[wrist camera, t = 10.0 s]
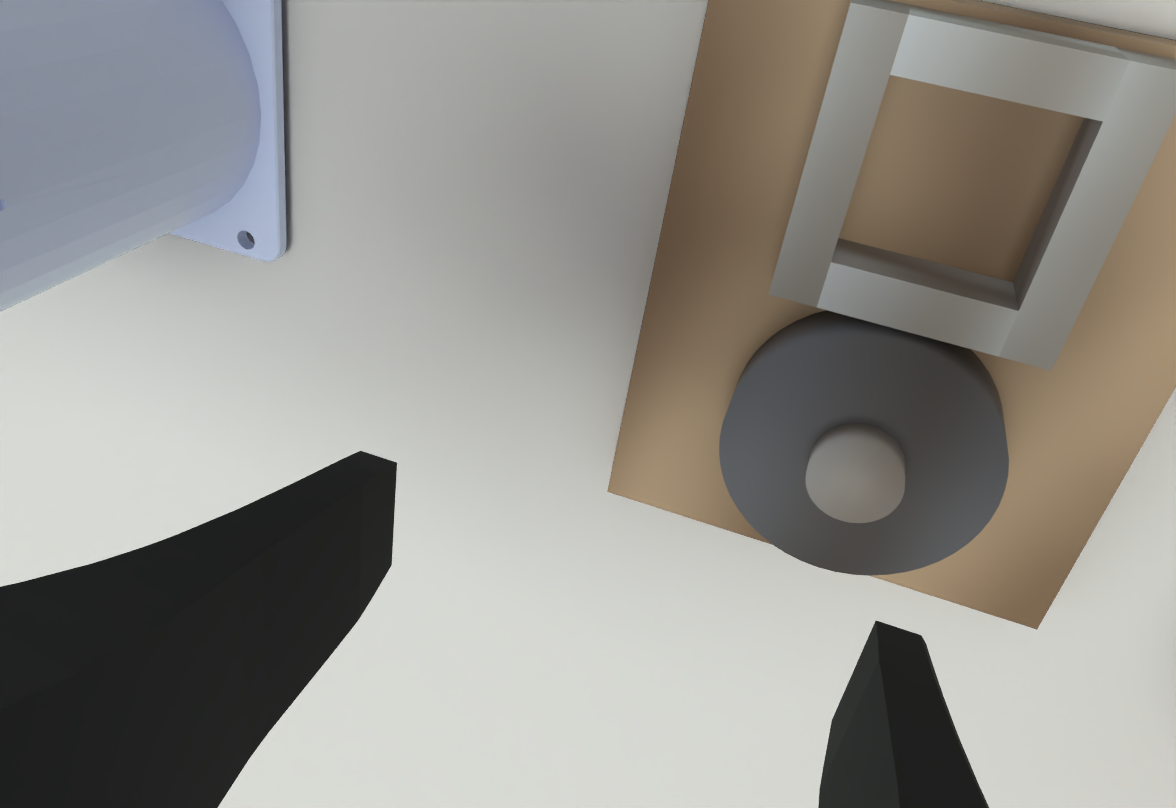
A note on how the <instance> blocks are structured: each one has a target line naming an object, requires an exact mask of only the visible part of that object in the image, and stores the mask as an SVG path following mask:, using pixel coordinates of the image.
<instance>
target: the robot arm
mask: <svg viewBox="0 0 1176 808" xmlns="http://www.w3.org/2000/svg"><path fill="white" fill-rule="evenodd" d="M246 231H247V232H249V233H250V234H251V235H252V236H253V238H254V242H255V244H253V243H252V242H250V240H249V239H248V237H247V234H246ZM168 233H169V234H172V235H176V236H179V237H182V238H186V239H189V240H193V241H196V242H199V243H203V244H206V245H210V246H213V247H216V248H220V249H223V250H227V251H230V252H234V253H237V254H240V255H244V256H247V257H251V258H254V259H257V260H261V261H264V262H272V261H274V260H276V259H278V258H280V257H281V256H282V255H283V254H284V253H285V251H286V245H287V244H286V198H285V152H284V106H283V60H282V14H281V0H0V311H2V310H5V309H7V308H9V307H11V306H13V305H15V304H17V303H20V302H22V301H24V300H26V299H28V298H30V297H32V296H35V295H37V294H39V293H41V292H43V291H45V290H47V289H50V288H52V287H54V286H56V285H58V284H60V283H63V282H65V281H67V280H69V279H71V278H73V277H75V276H78V275H80V274H82V273H84V272H86V271H88V270H90V269H93V268H95V267H97V266H99V265H101V264H103V263H105V262H108V261H110V260H112V259H114V258H116V257H118V256H120V255H123V254H125V253H127V252H129V251H131V250H133V249H135V248H138V247H140V246H142V245H144V244H146V243H148V242H151V241H153V240H155V239H157V238H159V237H161V236H163V235H166V234H168ZM396 470H397V463H396V462H393V461H390V460H387V459H384V458H381V457H378V456H375V455H372V454H369V453H366V452H362V451H359V452H357V453H355V454H353V455H350V456H348V457H346V458H344V459H342V460H340V461H338V462H336V463H334V464H332V465H329V466H327V467H325V468H323V469H321V470H319V471H317V472H315V473H313V474H311V475H309V476H307V477H305V478H303V479H301V480H299V481H297V482H295V483H293V484H291V485H289V486H287V487H284V488H282V489H280V490H278V491H276V492H274V493H272V494H270V495H267V496H265V497H263V498H261V499H259V500H257V501H255V502H253V503H250V504H248V505H246V506H244V507H242V508H240V509H237V510H235V511H233V512H230V513H228V514H225V515H223V516H221V517H218V518H216V519H213V520H211V521H209V522H206V523H204V524H201V525H199V526H197V527H194V528H192V529H190V530H187V531H185V532H182V533H180V534H178V535H175V536H172V537H170V538H167V539H164V540H162V541H159V542H156V543H153V544H151V545H148V546H145V547H142V548H139V549H136V550H133V551H130V552H127V553H124V554H121V555H118V556H115V557H112V558H109V559H106V560H102V561H99V562H96V563H92V564H89V565H85V566H81V567H78V568H74V569H70V570H66V571H62V572H59V573H55V574H51V575H47V576H43V577H40V578H36V579H32V580H28V581H24V582H20V583H16V584H11V585H7V586H2V587H0V808H217V807H218V806H219V804H220V803H221V801H222V800H223V798H224V797H225V795H226V794H227V792H228V790H229V789H230V787H231V786H232V784H233V783H234V781H235V780H236V778H237V777H238V775H239V774H240V772H241V770H242V769H243V767H244V766H245V764H246V763H247V761H248V760H249V758H250V757H251V755H252V754H253V753H254V751H255V750H256V749H257V747H258V746H259V745H260V743H261V742H262V741H263V739H264V738H265V736H266V735H267V734H268V732H269V731H270V730H271V729H272V727H273V726H274V725H275V724H276V722H277V721H278V720H279V719H280V717H281V716H282V715H283V714H284V713H285V711H286V710H287V709H288V708H289V706H290V705H291V704H292V703H293V701H294V700H295V699H296V698H297V696H298V695H299V694H300V693H301V691H302V690H303V689H304V688H305V686H306V685H307V684H308V683H309V681H310V680H311V679H312V678H313V677H314V675H315V674H316V673H317V672H318V670H319V669H320V668H321V667H322V665H323V664H324V663H325V662H326V660H327V659H328V658H329V657H330V655H331V654H332V653H333V652H334V650H335V649H336V648H337V647H338V645H339V644H340V643H341V641H342V640H343V639H344V638H345V636H346V635H347V634H348V633H349V631H350V630H351V629H352V627H353V626H354V625H355V624H356V622H357V621H358V620H359V618H360V617H361V615H362V613H363V612H364V610H365V609H366V607H367V605H368V604H369V602H370V601H371V599H372V597H373V596H374V594H375V592H376V591H377V589H378V587H379V585H380V584H381V582H382V580H383V579H384V577H385V575H386V574H387V572H388V570H389V568H390V567H391V565H392V546H393V527H394V508H395V489H396ZM819 808H989V806H988V804H987V802H986V800H985V798H984V795H983V793H982V791H981V789H980V787H979V784H978V782H977V780H976V777H975V775H974V773H973V770H972V768H971V765H970V763H969V761H968V758H967V756H966V754H965V751H964V749H963V746H962V744H961V742H960V739H959V737H958V734H957V731H956V729H955V726H954V724H953V721H952V718H951V716H950V713H949V710H948V708H947V705H946V702H945V699H944V697H943V694H942V691H941V688H940V685H939V682H938V679H937V676H936V673H935V670H934V667H933V664H932V661H931V658H930V655H929V652H928V649H927V645H926V643H925V641H924V640H923V638H922V636H921V635H918V634H915V633H912V632H909V631H906V630H903V629H900V628H897V627H894V626H891V625H888V624H885V623H882V622H879V621H875V624H874V626H873V628H872V631H871V633H870V635H869V637H868V640H867V642H866V644H865V646H864V649H863V651H862V653H861V656H860V658H859V660H858V662H857V665H856V667H855V669H854V671H853V674H852V676H851V678H850V681H849V683H848V685H847V687H846V690H845V692H844V694H843V696H842V699H841V701H840V703H839V706H838V708H837V710H836V712H835V715H834V717H833V719H832V723H831V729H830V734H829V739H828V745H827V750H826V756H825V761H824V767H823V773H822V779H821V785H820V794H819Z"/></svg>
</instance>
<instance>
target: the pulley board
mask: <svg viewBox="0 0 1176 808" xmlns="http://www.w3.org/2000/svg"><path fill="white" fill-rule="evenodd" d="M1175 387H1176V40H1171V39H1166V38H1161V37H1156V36H1151V35H1146V34H1141V33H1136V32H1131V31H1126V30H1121V29H1116V28H1111V27H1106V26H1101V25H1096V24H1091V23H1087V22H1082V21H1077V20H1072V19H1067V18H1062V17H1057V16H1052V15H1047V14H1042V13H1037V12H1032V11H1027V10H1022V9H1017V8H1012V7H1007V6H1003V5H998V4H993V3H988V2H983V1H978V0H708V5H707V10H706V15H705V20H704V25H703V30H702V34H701V39H700V44H699V49H698V54H697V59H696V64H695V68H694V73H693V78H692V83H691V88H690V93H689V98H688V102H687V107H686V112H685V117H684V122H683V127H682V132H681V136H680V141H679V146H678V151H677V156H676V161H675V166H674V171H673V175H672V180H671V185H670V190H669V195H668V200H667V205H666V209H665V214H664V219H663V224H662V229H661V234H660V239H659V243H658V248H657V253H656V258H655V263H654V268H653V273H652V277H651V282H650V287H649V292H648V297H647V302H646V307H645V312H644V316H643V321H642V326H641V331H640V336H639V341H638V346H637V350H636V355H635V360H634V365H633V370H632V375H631V380H630V384H629V389H628V394H627V399H626V404H625V409H624V414H623V418H622V423H621V428H620V433H619V438H618V443H617V448H616V452H615V457H614V462H613V467H612V472H611V477H610V482H609V487H608V491H607V492H610V493H613V494H617V495H620V496H623V497H626V498H629V499H632V500H635V501H638V502H641V503H645V504H648V505H651V506H654V507H657V508H660V509H663V510H666V511H670V512H673V513H676V514H679V515H682V516H685V517H688V518H691V519H694V520H698V521H701V522H704V523H707V524H710V525H713V526H716V527H719V528H723V529H726V530H729V531H732V532H735V533H738V534H741V535H744V536H747V537H751V538H754V539H757V540H760V541H763V542H766V543H769V544H772V545H774V546H776V547H777V548H779V549H781V550H782V551H784V552H785V553H787V554H789V555H791V556H793V557H795V558H797V559H799V560H801V561H803V562H806V563H809V564H811V565H814V566H817V567H820V568H824V569H827V570H831V571H835V572H841V573H847V574H855V575H869V576H872V577H875V578H878V579H882V580H885V581H888V582H891V583H894V584H897V585H900V586H903V587H906V588H910V589H913V590H916V591H919V592H922V593H925V594H928V595H931V596H935V597H938V598H941V599H944V600H947V601H950V602H953V603H956V604H959V605H963V606H966V607H969V608H972V609H975V610H978V611H981V612H984V613H988V614H991V615H994V616H997V617H1000V618H1003V619H1006V620H1009V621H1012V622H1016V623H1019V624H1022V625H1025V626H1028V627H1031V628H1034V629H1037V628H1038V627H1039V625H1040V623H1041V621H1042V620H1043V618H1044V616H1045V614H1046V613H1047V611H1048V609H1049V607H1050V606H1051V604H1052V602H1053V600H1054V599H1055V597H1056V595H1057V593H1058V592H1059V590H1060V588H1061V586H1062V585H1063V583H1064V581H1065V579H1066V578H1067V576H1068V574H1069V572H1070V571H1071V569H1072V567H1073V565H1074V564H1075V562H1076V560H1077V558H1078V557H1079V555H1080V553H1081V551H1082V550H1083V548H1084V546H1085V545H1086V543H1087V541H1088V539H1089V538H1090V536H1091V534H1092V532H1093V531H1094V529H1095V527H1096V525H1097V524H1098V522H1099V520H1100V518H1101V517H1102V515H1103V513H1104V511H1105V510H1106V508H1107V506H1108V504H1109V503H1110V501H1111V499H1112V497H1113V496H1114V494H1115V492H1116V490H1117V489H1118V487H1119V485H1120V483H1121V482H1122V480H1123V478H1124V476H1125V475H1126V473H1127V471H1128V469H1129V468H1130V466H1131V464H1132V462H1133V461H1134V459H1135V457H1136V455H1137V454H1138V452H1139V450H1140V448H1141V447H1142V445H1143V443H1144V441H1145V440H1146V438H1147V436H1148V434H1149V433H1150V431H1151V429H1152V427H1153V426H1154V424H1155V422H1156V420H1157V419H1158V417H1159V415H1160V413H1161V412H1162V410H1163V408H1164V406H1165V405H1166V403H1167V401H1168V399H1169V398H1170V396H1171V394H1172V392H1173V391H1174V389H1175Z"/></svg>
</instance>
